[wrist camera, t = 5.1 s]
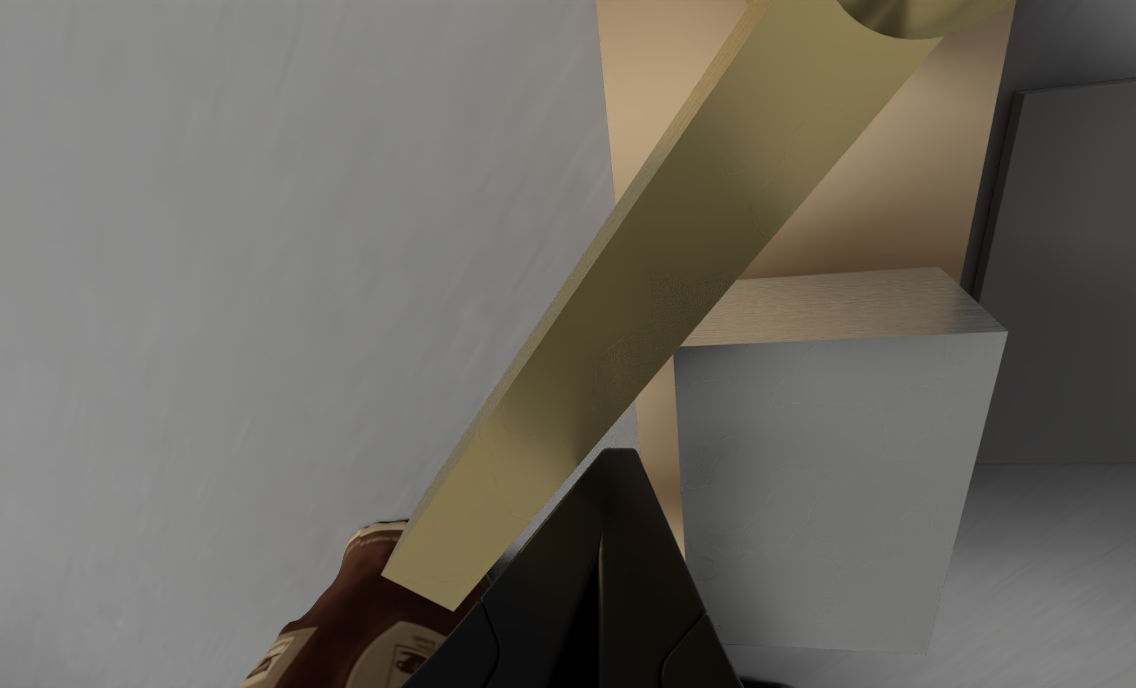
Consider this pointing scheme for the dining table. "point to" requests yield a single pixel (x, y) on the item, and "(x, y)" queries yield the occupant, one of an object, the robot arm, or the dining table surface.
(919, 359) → the grey flat block
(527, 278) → the dining table surface
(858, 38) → the latch lever
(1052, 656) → the dining table surface
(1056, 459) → the mat
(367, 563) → the brown jar
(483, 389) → the dining table surface
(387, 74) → the dining table surface
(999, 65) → the latch plate
